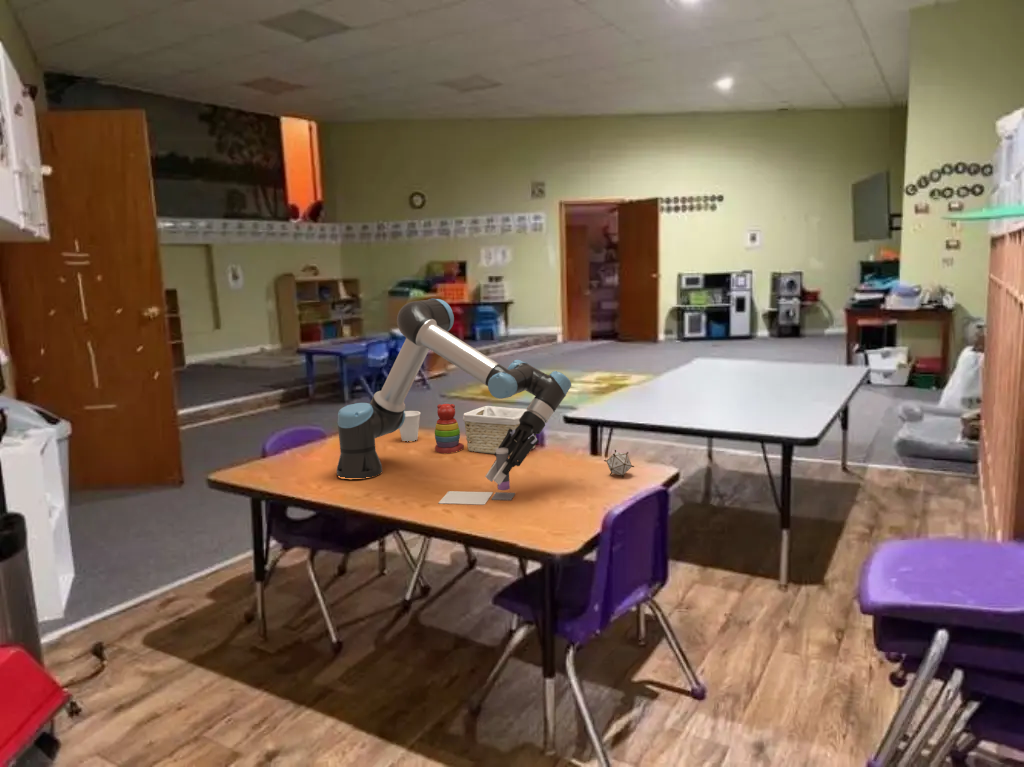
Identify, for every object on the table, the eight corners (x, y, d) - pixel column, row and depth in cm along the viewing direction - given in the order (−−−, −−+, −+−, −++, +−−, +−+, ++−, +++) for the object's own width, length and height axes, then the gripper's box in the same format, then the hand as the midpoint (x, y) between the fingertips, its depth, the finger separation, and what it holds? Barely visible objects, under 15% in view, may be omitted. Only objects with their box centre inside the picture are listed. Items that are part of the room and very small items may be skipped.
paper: (438, 503, 220) (438, 502, 220) (448, 491, 231) (448, 491, 231) (484, 504, 218) (484, 504, 218) (493, 492, 228) (492, 492, 228)
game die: (625, 486, 242) (644, 462, 239) (610, 483, 235) (630, 459, 233) (608, 467, 247) (627, 444, 245) (594, 464, 241) (612, 440, 238)
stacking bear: (464, 446, 285) (462, 400, 282) (460, 453, 275) (457, 406, 272) (436, 447, 286) (434, 401, 283) (431, 454, 276) (428, 406, 273)
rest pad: (491, 499, 222) (491, 498, 222) (495, 493, 228) (495, 492, 228) (511, 500, 221) (511, 499, 221) (515, 493, 226) (515, 492, 226)
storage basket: (462, 451, 278) (460, 412, 276) (487, 441, 292) (485, 404, 289) (517, 458, 265) (515, 418, 263) (540, 448, 279) (539, 409, 276)
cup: (393, 443, 294) (391, 416, 292) (401, 437, 304) (399, 410, 302) (418, 443, 292) (416, 416, 291) (425, 437, 302) (423, 410, 300)
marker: (496, 490, 222) (494, 450, 220) (499, 486, 226) (497, 447, 224) (508, 490, 221) (506, 451, 219) (511, 486, 225) (509, 447, 223)
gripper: (559, 428, 222) (515, 494, 216) (527, 420, 236) (485, 481, 230) (544, 414, 218) (499, 480, 212) (512, 406, 232) (469, 467, 226)
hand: (492, 480), depth 221 cm, fingers closed on marker, 3 cm apart
